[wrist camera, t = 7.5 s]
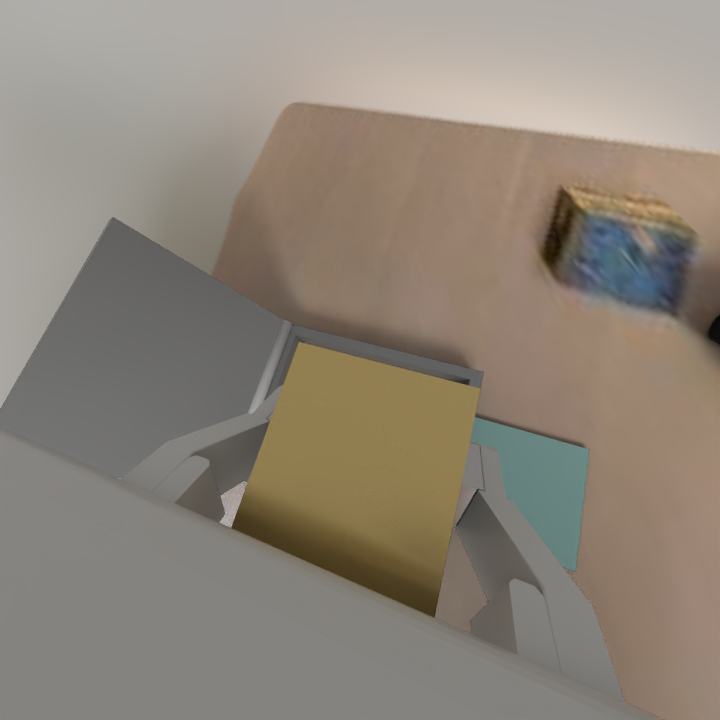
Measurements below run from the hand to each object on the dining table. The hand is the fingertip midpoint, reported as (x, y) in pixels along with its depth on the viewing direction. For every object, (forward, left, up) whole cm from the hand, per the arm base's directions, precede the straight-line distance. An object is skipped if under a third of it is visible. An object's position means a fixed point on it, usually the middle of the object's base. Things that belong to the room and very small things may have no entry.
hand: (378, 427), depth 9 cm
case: (+7, +1, -19) cm, 20 cm away
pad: (-12, +2, -19) cm, 23 cm away
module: (0, +1, -6) cm, 6 cm away
